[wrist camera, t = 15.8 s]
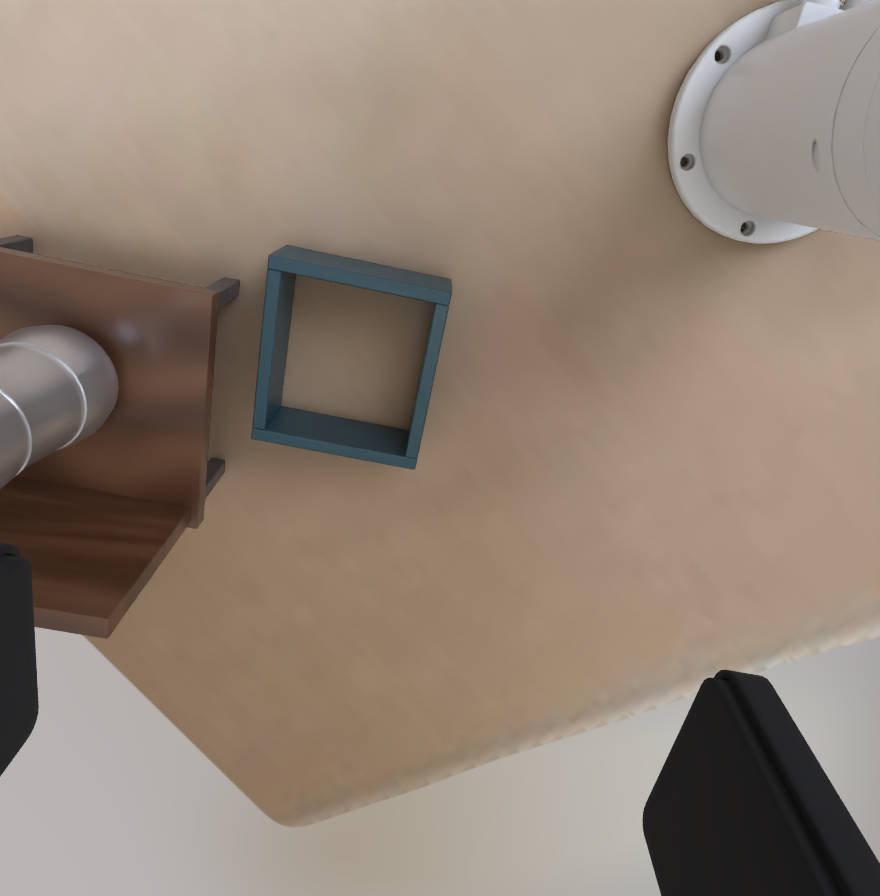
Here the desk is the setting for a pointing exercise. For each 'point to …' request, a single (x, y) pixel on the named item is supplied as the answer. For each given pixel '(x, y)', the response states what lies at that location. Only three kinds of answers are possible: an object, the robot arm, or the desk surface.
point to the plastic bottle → (50, 393)
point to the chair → (113, 436)
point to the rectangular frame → (268, 412)
